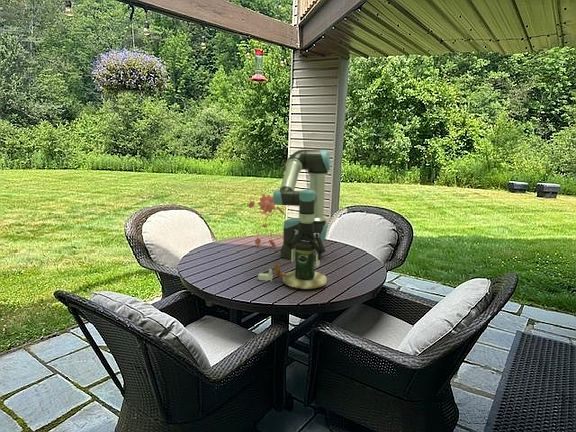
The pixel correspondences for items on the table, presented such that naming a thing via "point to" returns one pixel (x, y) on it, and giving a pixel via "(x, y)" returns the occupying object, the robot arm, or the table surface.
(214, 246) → the table surface
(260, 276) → the pale green block
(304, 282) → the turntable
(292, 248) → the robot arm
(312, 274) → the coffee jar
